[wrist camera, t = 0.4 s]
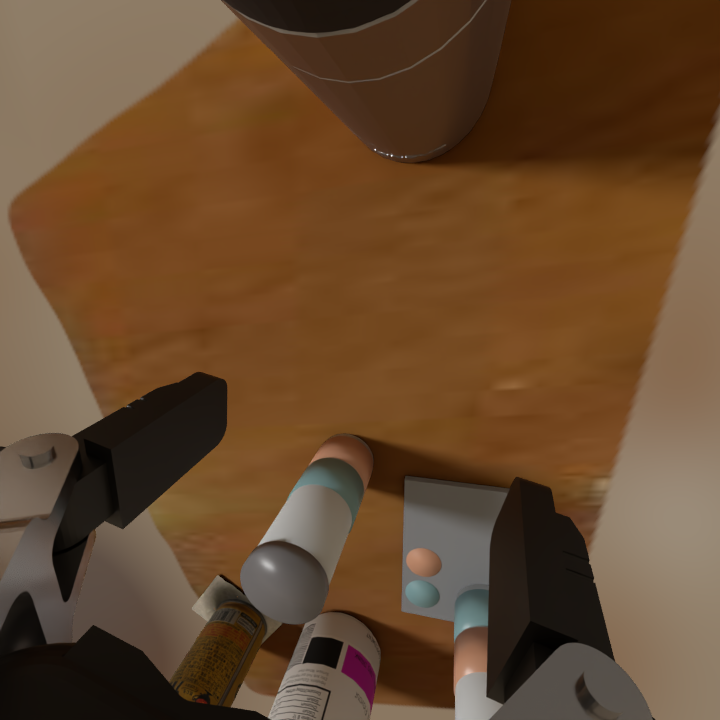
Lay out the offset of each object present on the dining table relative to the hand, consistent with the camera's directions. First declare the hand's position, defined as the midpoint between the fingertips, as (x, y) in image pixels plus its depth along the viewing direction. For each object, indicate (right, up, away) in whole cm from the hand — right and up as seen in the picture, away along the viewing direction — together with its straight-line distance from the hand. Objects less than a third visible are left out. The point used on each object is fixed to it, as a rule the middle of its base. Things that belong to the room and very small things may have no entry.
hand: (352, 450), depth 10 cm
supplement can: (-2, -26, +29) cm, 39 cm away
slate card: (+9, -14, +23) cm, 28 cm away
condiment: (-13, -25, +32) cm, 43 cm away
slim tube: (-1, -6, +23) cm, 23 cm away
